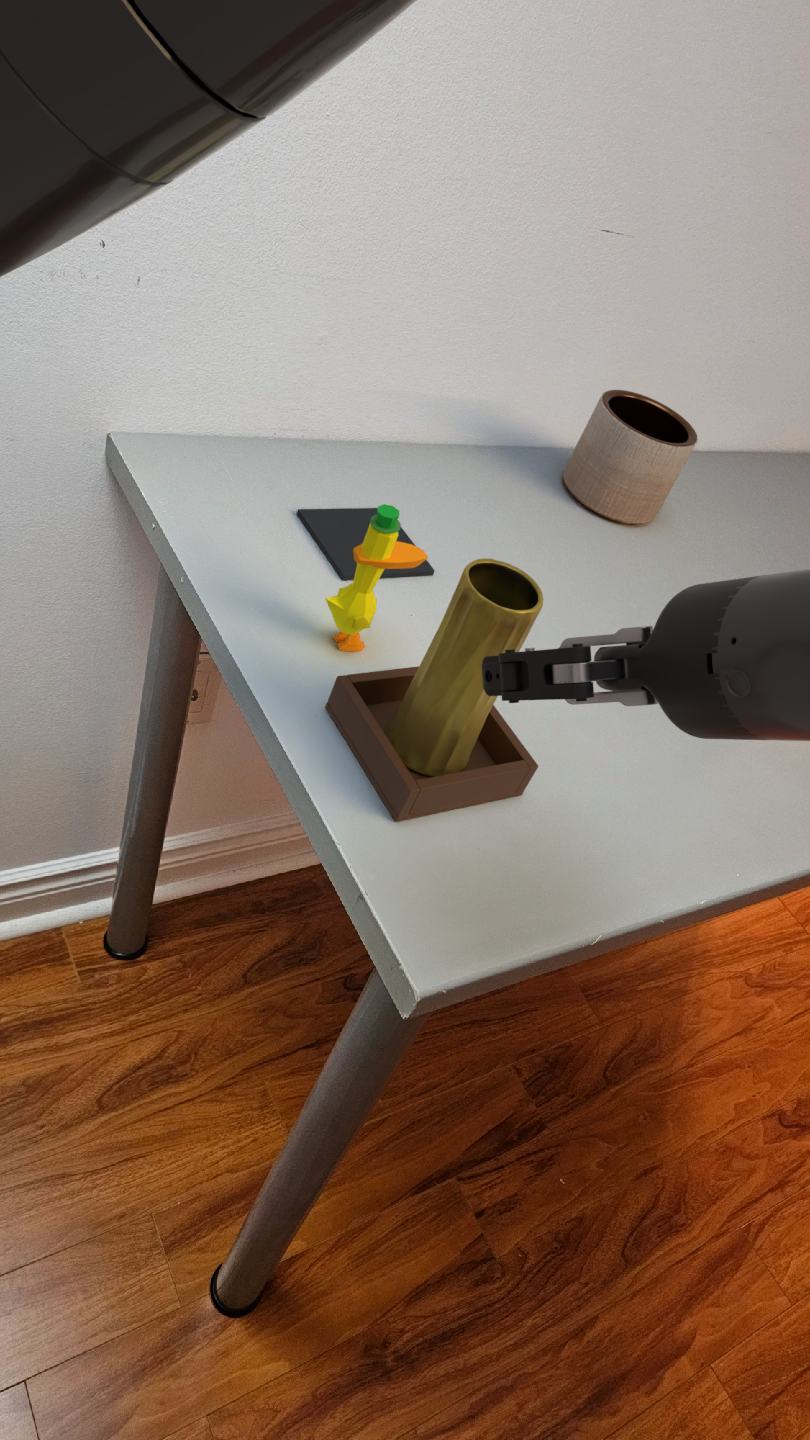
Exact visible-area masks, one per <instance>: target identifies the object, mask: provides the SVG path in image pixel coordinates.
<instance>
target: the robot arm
mask: <svg viewBox="0 0 810 1440" xmlns="http://www.w3.org/2000/svg"><path fill="white" fill-rule="evenodd" d="M417 1H418V0H0V278H1V277H3V276H5V275H7V274H10V273H11V272H13V271H15V270H17V269H19V268H21V267H22V266H25V265H26V264H28V263H30V262H32V261H35V260H36V259H39V258H40V257H41V256H43V255H45V254H48V253H50V252H52V251H53V250H55V249H57V248H59V247H61V246H62V245H64V244H66V243H68V242H69V241H71V240H73V239H75V238H77V237H79V236H80V235H82V234H85V233H86V232H88V231H89V230H91V229H93V228H95V227H97V226H98V225H100V224H102V223H104V222H105V221H107V220H109V219H110V218H112V217H114V216H116V215H118V214H119V213H121V212H123V211H125V210H126V209H128V208H129V207H132V206H133V205H135V204H137V203H139V202H140V201H142V200H144V199H145V198H147V197H149V196H151V195H152V194H154V193H156V192H157V191H159V190H161V189H162V188H165V187H166V186H167V185H168V184H170V183H172V182H174V180H175V179H179V177H181V176H182V175H184V174H185V173H187V172H188V171H190V170H191V169H193V168H194V167H196V166H198V165H199V164H201V163H202V162H204V161H205V160H206V159H208V158H209V157H211V156H212V155H213V154H215V153H217V152H218V151H220V150H221V149H222V148H224V147H226V146H227V145H228V144H230V143H231V142H233V141H235V140H236V139H237V138H239V137H240V136H242V135H243V134H245V133H247V132H248V131H249V130H251V129H252V128H254V127H255V126H257V125H259V124H260V123H261V122H263V121H265V120H266V118H267V117H270V116H272V115H273V114H274V113H276V112H277V111H279V110H280V109H282V108H283V107H284V106H286V105H287V104H288V103H290V102H291V101H293V100H294V99H295V98H297V97H298V96H299V95H301V94H302V93H304V91H306V90H307V89H308V88H310V87H311V86H312V85H314V84H315V83H316V82H318V81H319V80H320V79H322V77H324V76H325V75H327V74H328V73H329V72H330V71H332V70H334V68H336V67H337V66H338V65H340V63H342V62H343V61H345V60H346V59H347V58H348V57H350V56H351V55H352V54H353V53H355V52H356V51H357V50H358V49H360V48H361V47H362V46H364V44H366V43H367V42H369V41H370V40H371V39H372V38H373V37H375V36H376V35H377V34H378V33H379V32H381V31H382V30H384V28H386V27H387V26H388V25H389V24H390V23H392V22H393V21H394V20H396V19H397V18H399V16H400V15H401V14H402V13H404V12H405V11H407V10H408V8H410V7H411V6H412V5H414V4H415V3H416V2H417ZM620 644H621V645H620ZM609 645H610V646H609ZM595 646H597V647H598V646H600V647H599V648H598V649H597V651H596V652H595V653H594V656H593V661H592V650H591V649H592V648H591V647H595ZM481 665H482V678H483V690H485V693H486V694H487V695H488V696H497V697H501V701H502V702H508V704H516V703H517V704H519V703H520V701H543V700H544V701H547V700H548V701H551V700H553V701H554V700H565V702H566V703H568V704H569V705H571V706H574V705H576V706H577V705H590V704H607V703H620V704H622V705H623V706H624V707H638V706H640V707H641V706H651V705H652V706H653V705H659V706H660V709H661V710H662V711H663V714H664V715H665V716H666V717H667V719H668V720H669V721H670V722H671V723H672V724H673V726H675V727H676V728H678V729H679V730H680V731H682V732H683V733H684V734H687V735H689V736H691V737H694V738H698V739H703V740H734V741H735V740H736V741H737V740H738V741H739V740H740V741H783V742H784V741H785V742H787V741H789V742H810V568H809V569H800V570H793V571H786V572H779V573H772V574H771V573H770V574H763V575H756V576H748V577H742V578H734V579H728V580H719V581H712V582H704V583H698V584H694V585H691V586H688V587H686V588H684V589H682V590H681V591H678V593H676V594H675V595H674V596H673V597H671V599H670V600H669V601H668V602H667V603H666V605H665V606H664V608H663V609H662V610H661V612H660V613H659V615H658V618H657V620H656V622H655V624H654V627H653V625H646V626H634V627H623V628H620V629H618V630H617V631H616V632H615V633H613V634H612V633H609V634H599V635H598V634H597V635H588V636H587V635H586V636H574V637H566V638H564V640H562V642H561V643H560V646H559V647H557V648H547V649H537V650H536V647H527V648H526V647H525V648H524V651H519V652H515V649H512V650H505V653H499V654H498V656H487V657H485V658H484V659H483V662H482V664H481ZM594 682H596V685H597V686H598V687H599V688H601V689H603V690H607V691H596V692H594V691H595V689H594Z"/></svg>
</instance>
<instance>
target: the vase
mask: <svg viewBox="0 0 810 1440" xmlns="http://www.w3.org/2000/svg"><path fill="white" fill-rule="evenodd" d="M543 605H544V595H543V591H542V588H541V587H540V586H539V584H538V583H537V582H536V580H535V579H534V578H533V577H532V576H530V575H529V574H528V573H526V572H525V571H524V570H523V569H521V568H519V567H517V566H514V565H512V564H511V563H508V562H506V561H500V560H498V559H493V558H476V559H474V560H473V561H471V562H469V563H468V564H467V565H465V567H464V568H463V570H462V573H461V576H460V578H459V581H458V583H457V585H456V587H455V590H454V592H453V594H452V597H451V599H450V601H449V603H448V606H447V608H446V610H445V613H444V616H443V618H442V620H441V621H440V624H439V626H438V628H437V630H436V632H435V634H434V636H433V639H432V640H431V642H430V645H429V646H428V648H427V650H426V652H425V654H424V656H423V659H422V660H421V662H420V664H419V668H418V670H417V672H416V674H415V676H414V678H413V680H412V682H411V684H410V686H409V688H408V690H407V692H406V694H405V696H404V699H403V701H402V703H401V705H400V707H399V708H398V710H397V712H396V714H395V715H394V716H393V717H392V719H391V720H390V721H389V723H388V724H387V727H386V730H385V735H386V737H387V738H388V740H389V741H390V743H391V745H392V746H393V748H394V749H395V751H396V752H397V754H398V755H399V757H400V759H401V760H402V762H403V763H404V765H405V766H406V767H408V768H409V769H411V770H413V771H415V772H417V773H420V774H423V775H426V776H431V777H436V776H441V775H447V774H452V773H457V772H460V771H462V770H463V769H464V768H465V766H466V765H467V763H468V762H469V757H470V754H471V752H472V749H473V747H474V745H475V743H476V741H477V738H478V736H479V734H480V732H481V729H482V727H483V725H484V723H485V720H486V718H487V716H488V714H489V712H490V710H491V708H492V706H493V705H495V703H496V700H497V698H498V696H488V695H487V694H486V693H485V690H483V678H482V665H481V664H482V662H483V659H484V658H485V657H487V656H498V654H499V653H505V650H512V649H515V652H521V649H522V647H523V645H524V643H525V641H526V640H527V637H528V636H529V634H530V631H531V629H532V628H533V625H534V624H535V622H536V619H537V618H538V616H539V614H540V613H541V611H542V609H543Z"/></svg>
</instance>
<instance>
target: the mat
mask: <svg viewBox="0 0 810 1440" xmlns="http://www.w3.org/2000/svg"><path fill="white" fill-rule="evenodd" d="M377 512H378V507H353V508H350V507H348V508H298V509H297V511H296V515H297V517H298V518H299V519H300V521H301V522H302V524H303V525H304V527H305V528H306V530H307V531H308V533H309V534H310V535H311V537H312V538H313V540H314V542H315V543H316V545H317V546H318V547H319V549H320V550H321V552H322V553H323V554H324V556H325V557H326V559H327V560H328V561H329V563H330V565H331V566H332V568H334V570H335V572H336V573H337V574H338V576H339V578H340V579H341V580H342V581H354V577H355V572H356V567H357V562H355V560H354V555H353V549H354V548H355V547H357V546H359V545H361V544H362V543H363V541H364V539H365V536H366V533H367V530H368V528H369V525H370V520H371V517H372V516H374V515H376V514H377ZM396 541H398V542H403V543H408V544H412V545H414V546H416V544H415V543H414V541H413V540H412V539H411V538H410V537H409V535H408V534H407V532H406V531H405V530H404V528H403V527H402V526H401V528H400V530H399V531H398V537H397V540H396ZM435 571H436V570H435V569H434V568H433V566H432V565H431V563H430V562H429V561H428V559H426V560H425V561H424V562H423V563H421V564H420V565H419V566H417V567H415V568H407V569H384V571H383V573H382V575H381V576H380V578H379V579H388V578H389V579H390V578H406V577H424V576H425V577H426V576H434V573H435Z"/></svg>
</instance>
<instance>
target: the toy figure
mask: <svg viewBox="0 0 810 1440" xmlns="http://www.w3.org/2000/svg"><path fill="white" fill-rule="evenodd" d="M377 508H378V512H377V514H376V515H374V516H372V517H371V520H370V525H369V528H368V530H367V533H366V536H365V539H364V541H363V543H362V544H361V545H359V546H357V547H355V548H354V549H353V555H354V560H355V562H357V567H356V572H355V577H354V580H352V581H353V582H352V583H350V584H348V585H346V586H344V587H340V588H339V590H338V592H337V595H334V596H329V597H325V598H324V599H325V602H326V603H327V606H328V608H329V610H330V613H331V616H332V619H333V621H334V623H335V626H336V628H337V629H338V630H339V632H338V633H336V634H334V635H333V640H334V641H335V643H337V648H338V650H339V651H345V652H352V653H357V652H361V651H363V650H364V649H365V647H366V646H365V642H364V641H362V640H361V639H360V638H361V635H360V633H359V632H361V631H363V630H365V629H369V628H371V625H372V621H373V619H374V617H375V614H376V611H377V598H376V595H375V593H374V591H373V590H374V588H375V587H376V585H377V584H378V582H379V580H380V579H381V578H380V576H381V575H382V573H383V571H384V569H407V568H415V567H417V566H419V565H420V564H421V563H423V562H424V561H425V560H428V559H429V556H428V555H427V553H426V552H425V550H423V549H422V548H420V547H418V546H417V545H415V546H414V545H412V544H408V543H403V542H398V541H396V540H397V537H398V531H399V530H400V528H401V527H402V525H401V521H399V517H400V510H399V509H398V508H397V507H395V506H394V505H390V504H385V503H383V504H381V505H379V506H377Z"/></svg>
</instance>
